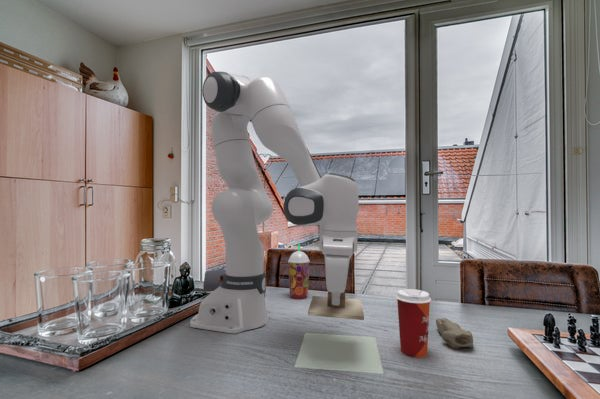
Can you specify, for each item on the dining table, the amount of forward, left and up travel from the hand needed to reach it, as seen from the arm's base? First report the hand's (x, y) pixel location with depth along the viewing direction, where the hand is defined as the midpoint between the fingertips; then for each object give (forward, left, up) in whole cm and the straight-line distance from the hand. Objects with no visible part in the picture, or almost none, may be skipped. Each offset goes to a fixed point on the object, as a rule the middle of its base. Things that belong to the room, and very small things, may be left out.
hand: (335, 301), depth 73 cm
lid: (0, 0, -2) cm, 2 cm away
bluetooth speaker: (-39, +42, -12) cm, 58 cm away
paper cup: (+18, +1, -12) cm, 21 cm away
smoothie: (-15, +44, -12) cm, 48 cm away
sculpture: (+29, +11, -12) cm, 33 cm away
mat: (+1, 0, -12) cm, 12 cm away
